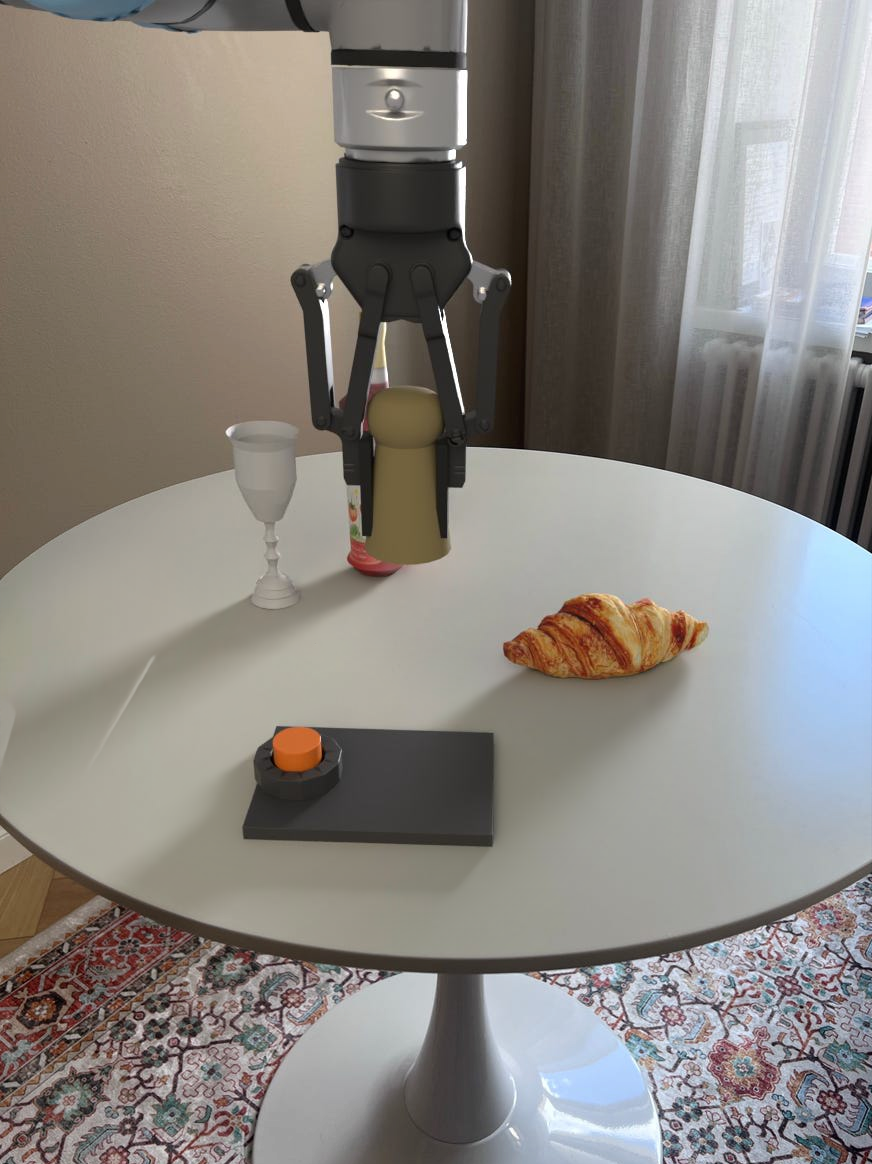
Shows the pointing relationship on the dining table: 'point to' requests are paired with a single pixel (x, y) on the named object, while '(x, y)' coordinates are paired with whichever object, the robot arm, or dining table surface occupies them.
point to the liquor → (357, 541)
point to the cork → (405, 476)
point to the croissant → (605, 638)
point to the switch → (297, 749)
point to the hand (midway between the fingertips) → (406, 528)
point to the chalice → (267, 495)
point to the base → (379, 790)
